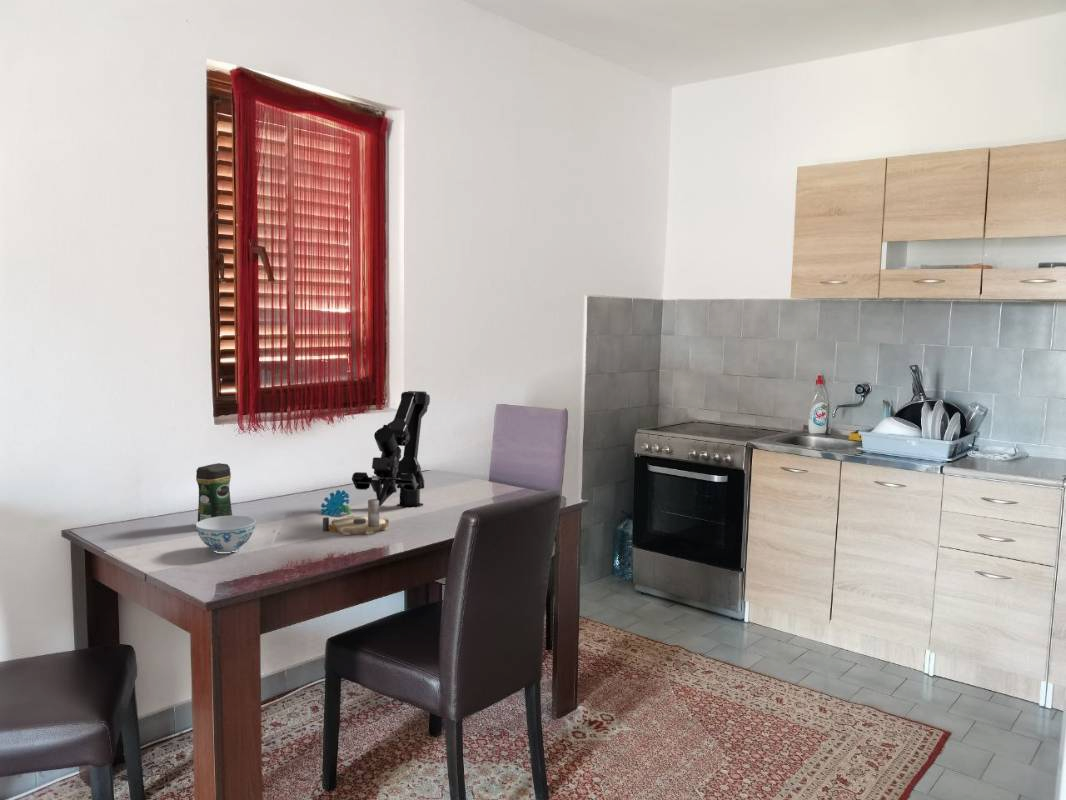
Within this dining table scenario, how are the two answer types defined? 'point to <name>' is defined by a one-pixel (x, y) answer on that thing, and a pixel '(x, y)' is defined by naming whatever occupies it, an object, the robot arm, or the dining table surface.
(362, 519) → the turntable
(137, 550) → the dining table surface
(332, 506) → the gear
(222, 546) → the chinaware
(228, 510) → the coffee jar
